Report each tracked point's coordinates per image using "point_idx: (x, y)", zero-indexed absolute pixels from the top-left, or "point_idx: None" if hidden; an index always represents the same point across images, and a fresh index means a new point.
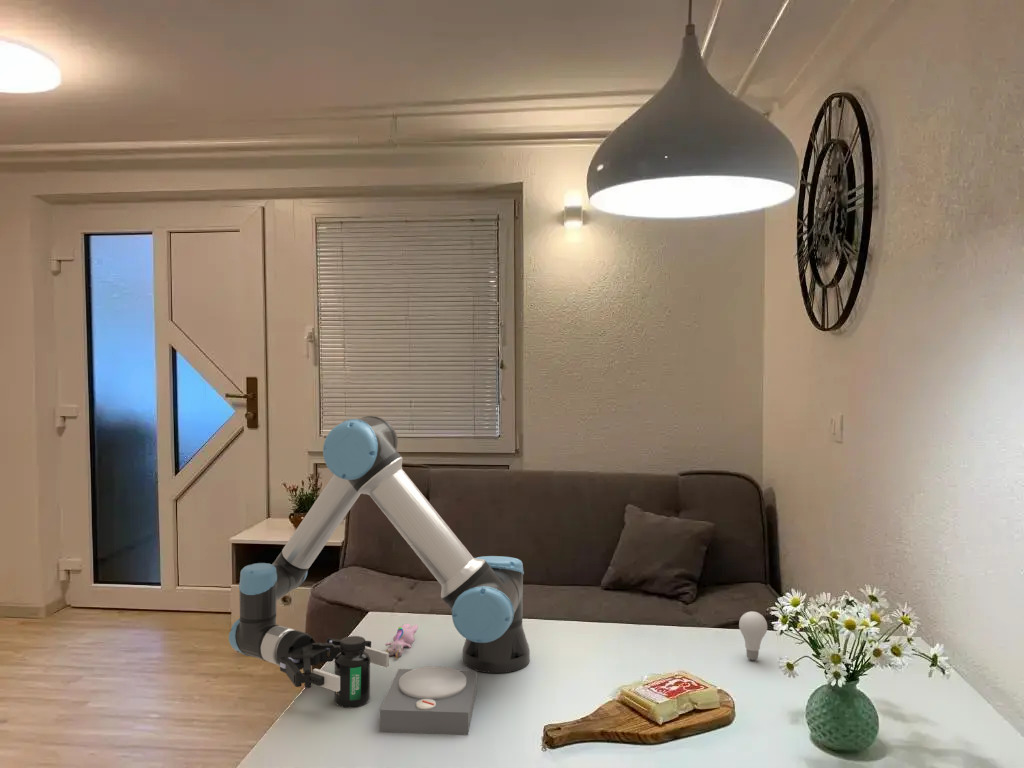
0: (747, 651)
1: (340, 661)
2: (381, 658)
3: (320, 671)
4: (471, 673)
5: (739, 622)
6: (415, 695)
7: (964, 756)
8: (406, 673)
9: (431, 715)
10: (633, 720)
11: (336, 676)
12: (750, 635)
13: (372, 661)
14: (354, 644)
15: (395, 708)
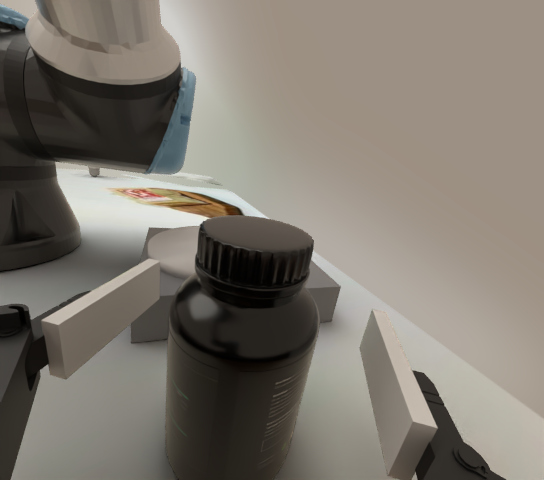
0: (94, 170)
1: (316, 313)
2: (145, 288)
3: (409, 378)
4: (159, 230)
5: None
6: None
7: (213, 179)
8: (193, 268)
9: None
10: (206, 207)
11: (383, 315)
12: None
13: (115, 330)
14: (293, 226)
15: (320, 273)
